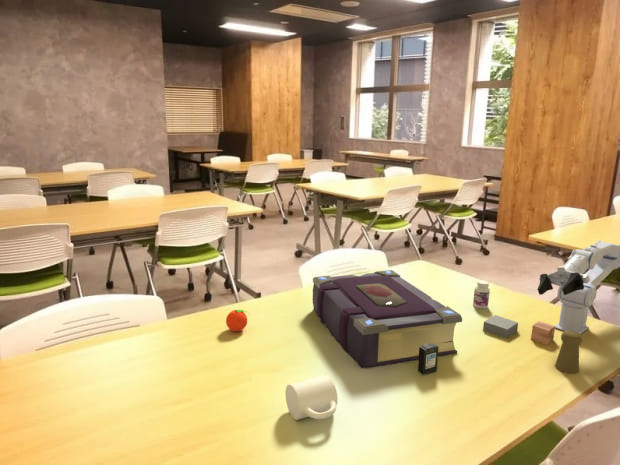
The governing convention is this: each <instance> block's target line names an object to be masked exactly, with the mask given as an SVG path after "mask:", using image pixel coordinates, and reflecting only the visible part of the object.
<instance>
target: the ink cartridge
mask: <svg viewBox="0 0 620 465" xmlns="http://www.w3.org/2000/svg"><path fill="white" fill-rule="evenodd" d="M438 358H439V357H438V346H437V345H436V344H434V343H428V344H426V345H422V346H420V348H419V360H417V362H418V366H417V372H418V373H420V374H421V375H422V376H426V375H429V374H433V373H436V372H437V371H438V361H439V360H438Z"/></svg>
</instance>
